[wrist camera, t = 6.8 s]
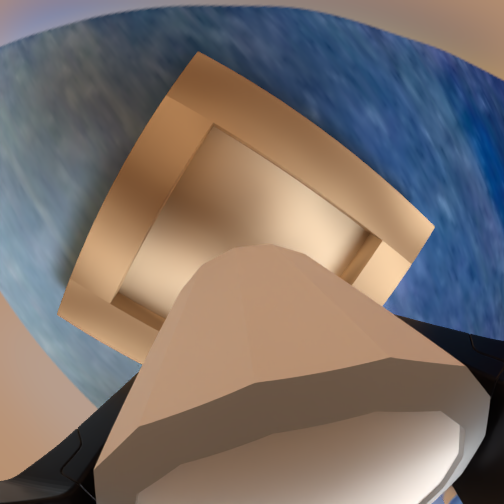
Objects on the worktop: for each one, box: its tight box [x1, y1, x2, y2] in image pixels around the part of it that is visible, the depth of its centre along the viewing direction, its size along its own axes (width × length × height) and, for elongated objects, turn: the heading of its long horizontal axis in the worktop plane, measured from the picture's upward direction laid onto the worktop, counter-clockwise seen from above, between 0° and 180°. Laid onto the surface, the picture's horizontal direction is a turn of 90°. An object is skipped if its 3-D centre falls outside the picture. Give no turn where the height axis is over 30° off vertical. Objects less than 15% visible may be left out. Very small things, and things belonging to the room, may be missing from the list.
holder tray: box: [57, 52, 435, 365], centre depth 16 cm, size 15×15×2 cm
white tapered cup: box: [94, 244, 490, 504], centre depth 7 cm, size 7×7×7 cm
